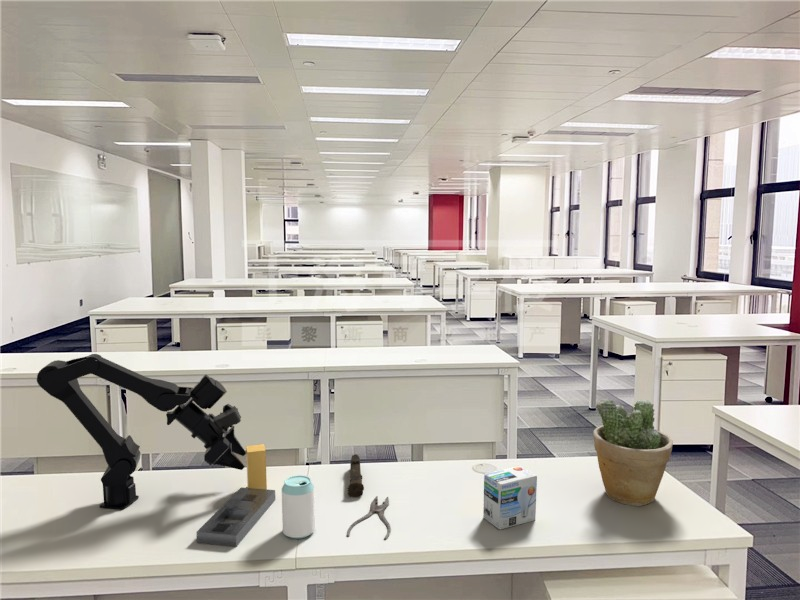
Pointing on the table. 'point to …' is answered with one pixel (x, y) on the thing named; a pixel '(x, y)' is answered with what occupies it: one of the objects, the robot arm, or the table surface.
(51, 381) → the robot arm
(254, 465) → the amber peg
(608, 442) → the potted plant
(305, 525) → the can
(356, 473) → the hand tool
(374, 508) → the pliers
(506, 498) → the light bulb box
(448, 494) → the table surface
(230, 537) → the charcoal peg board
